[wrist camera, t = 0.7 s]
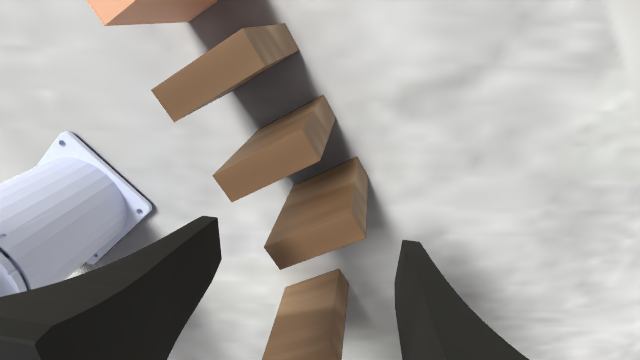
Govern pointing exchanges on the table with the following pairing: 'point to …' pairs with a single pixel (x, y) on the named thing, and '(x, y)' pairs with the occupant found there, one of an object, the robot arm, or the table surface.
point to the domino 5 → (310, 320)
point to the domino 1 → (147, 11)
